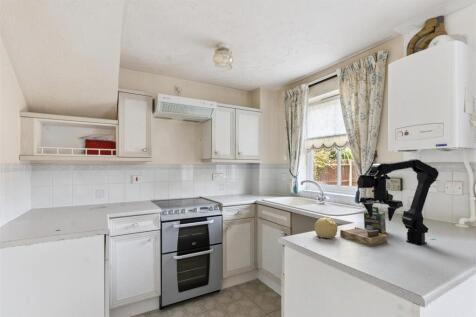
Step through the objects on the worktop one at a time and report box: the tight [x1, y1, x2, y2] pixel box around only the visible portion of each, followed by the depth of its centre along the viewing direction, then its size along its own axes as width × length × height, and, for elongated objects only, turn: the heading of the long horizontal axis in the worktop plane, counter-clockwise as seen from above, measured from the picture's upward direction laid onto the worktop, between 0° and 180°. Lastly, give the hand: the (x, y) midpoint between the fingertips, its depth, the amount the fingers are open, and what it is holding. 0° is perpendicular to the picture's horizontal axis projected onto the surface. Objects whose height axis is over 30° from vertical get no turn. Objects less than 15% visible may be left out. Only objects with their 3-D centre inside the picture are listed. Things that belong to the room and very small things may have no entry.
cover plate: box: [344, 227, 381, 238], centre depth 126 cm, size 15×10×4 cm, turn 26°
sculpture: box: [314, 216, 339, 239], centre depth 131 cm, size 11×12×11 cm
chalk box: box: [363, 206, 387, 234], centre depth 140 cm, size 9×9×15 cm
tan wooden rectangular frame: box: [339, 226, 388, 247], centre depth 126 cm, size 18×13×4 cm
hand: (380, 218), depth 120 cm, fingers open, 9 cm apart
